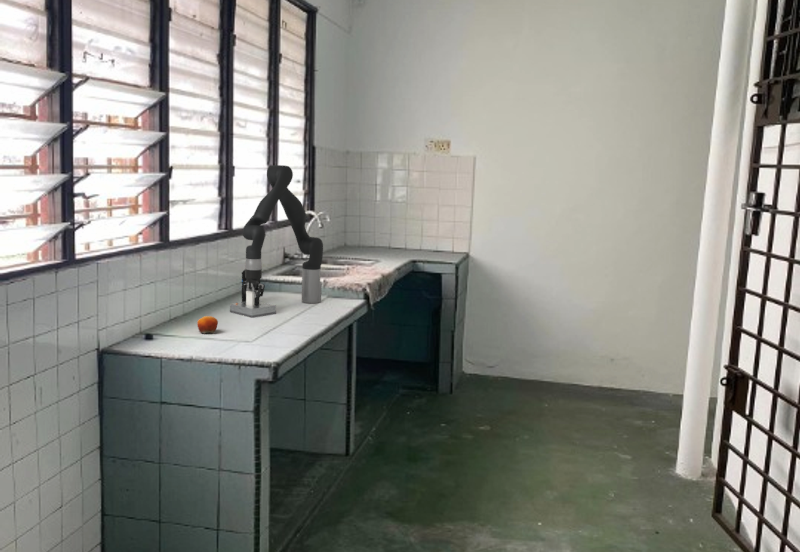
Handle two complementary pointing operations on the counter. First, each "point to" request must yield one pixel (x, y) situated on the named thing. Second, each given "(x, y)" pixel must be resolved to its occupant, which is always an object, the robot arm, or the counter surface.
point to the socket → (252, 309)
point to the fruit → (207, 324)
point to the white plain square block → (250, 298)
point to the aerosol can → (242, 287)
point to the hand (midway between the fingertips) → (253, 304)
